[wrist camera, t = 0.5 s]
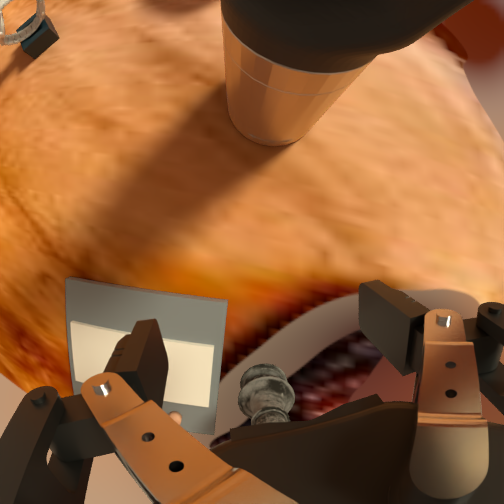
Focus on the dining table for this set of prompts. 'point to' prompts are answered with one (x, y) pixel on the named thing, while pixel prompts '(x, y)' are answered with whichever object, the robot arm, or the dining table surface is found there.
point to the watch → (30, 31)
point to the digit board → (173, 334)
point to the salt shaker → (265, 394)
